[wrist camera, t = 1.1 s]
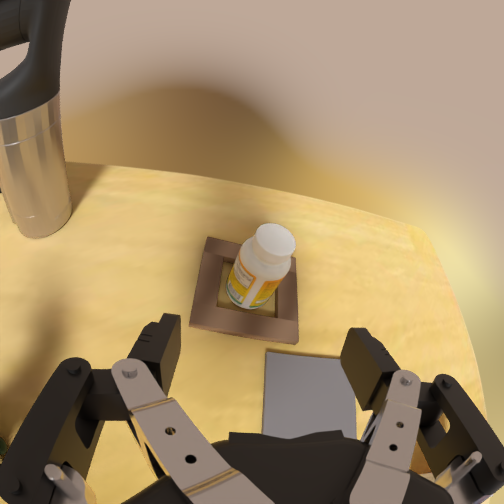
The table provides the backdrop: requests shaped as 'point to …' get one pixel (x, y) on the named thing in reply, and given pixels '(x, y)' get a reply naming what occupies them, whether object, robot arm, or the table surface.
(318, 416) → the charcoal mat
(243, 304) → the supplement bottle
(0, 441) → the toy figurine
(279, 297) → the walnut dock
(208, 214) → the table surface
